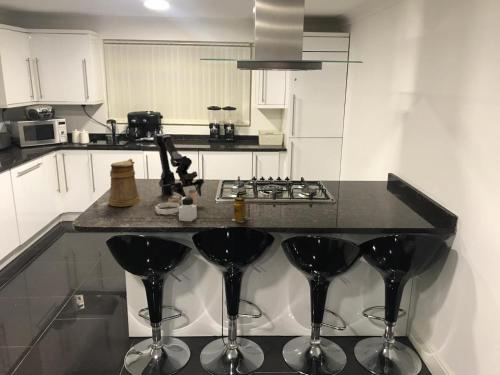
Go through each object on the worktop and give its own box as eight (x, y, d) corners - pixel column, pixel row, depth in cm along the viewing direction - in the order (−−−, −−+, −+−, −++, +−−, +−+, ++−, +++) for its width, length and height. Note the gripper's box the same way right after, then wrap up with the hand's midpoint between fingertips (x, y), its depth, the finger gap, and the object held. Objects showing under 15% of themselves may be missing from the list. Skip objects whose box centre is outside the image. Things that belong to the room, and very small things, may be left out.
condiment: (230, 220, 228) (230, 198, 224) (241, 216, 234) (241, 195, 231) (241, 223, 223) (240, 201, 220) (251, 218, 229) (251, 197, 226)
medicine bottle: (196, 217, 231) (196, 196, 228) (191, 221, 225) (190, 200, 222) (185, 216, 234) (184, 195, 231) (178, 220, 227) (177, 198, 224)
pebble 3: (180, 201, 258) (180, 196, 257) (182, 199, 261) (182, 195, 260) (184, 201, 257) (184, 196, 256) (186, 200, 260) (186, 195, 259)
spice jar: (188, 209, 245) (187, 191, 243) (191, 207, 250) (190, 189, 247) (195, 209, 244) (194, 191, 242) (198, 207, 249) (197, 189, 246)
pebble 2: (174, 202, 256) (174, 197, 255) (176, 201, 258) (176, 196, 258) (179, 202, 255) (179, 198, 254) (181, 201, 258) (181, 196, 257)
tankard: (103, 207, 250) (99, 165, 243) (120, 196, 272) (117, 157, 266) (133, 208, 248) (129, 166, 241) (147, 197, 270) (145, 158, 264)
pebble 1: (171, 201, 258) (171, 196, 257) (173, 199, 261) (173, 195, 260) (176, 201, 258) (175, 196, 257) (178, 200, 260) (177, 195, 260)
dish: (152, 214, 238) (151, 208, 237) (162, 206, 250) (162, 202, 249) (174, 215, 235) (174, 210, 234) (183, 208, 247) (183, 203, 246)
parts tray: (167, 203, 256) (167, 199, 255) (173, 200, 263) (173, 195, 263) (183, 204, 254) (183, 200, 253) (188, 201, 261) (188, 196, 260)
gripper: (173, 169, 239) (183, 192, 233) (202, 165, 250) (212, 187, 244) (167, 180, 247) (177, 203, 241) (195, 175, 258) (205, 197, 252)
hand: (193, 197), depth 244 cm, fingers open, 9 cm apart
